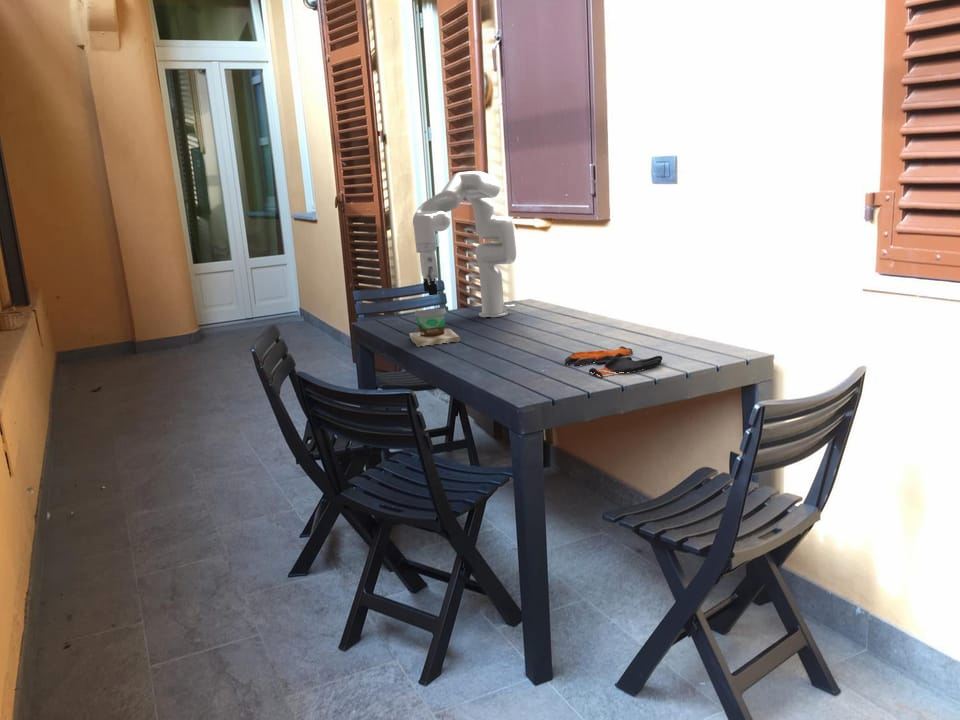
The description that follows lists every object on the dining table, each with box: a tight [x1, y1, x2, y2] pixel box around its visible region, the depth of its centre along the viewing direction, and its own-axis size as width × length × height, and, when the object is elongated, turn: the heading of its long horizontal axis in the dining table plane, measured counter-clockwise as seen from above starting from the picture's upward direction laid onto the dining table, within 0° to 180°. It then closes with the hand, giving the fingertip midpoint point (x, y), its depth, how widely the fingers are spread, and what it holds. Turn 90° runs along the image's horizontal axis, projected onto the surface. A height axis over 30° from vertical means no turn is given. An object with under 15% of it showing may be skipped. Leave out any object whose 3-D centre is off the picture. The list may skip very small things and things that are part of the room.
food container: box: [414, 306, 447, 337], centre depth 296 cm, size 12×6×10 cm, turn 110°
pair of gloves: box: [564, 345, 663, 376], centre depth 243 cm, size 27×24×3 cm
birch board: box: [409, 327, 461, 348], centre depth 299 cm, size 16×18×2 cm
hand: (430, 293), depth 295 cm, fingers open, 9 cm apart
